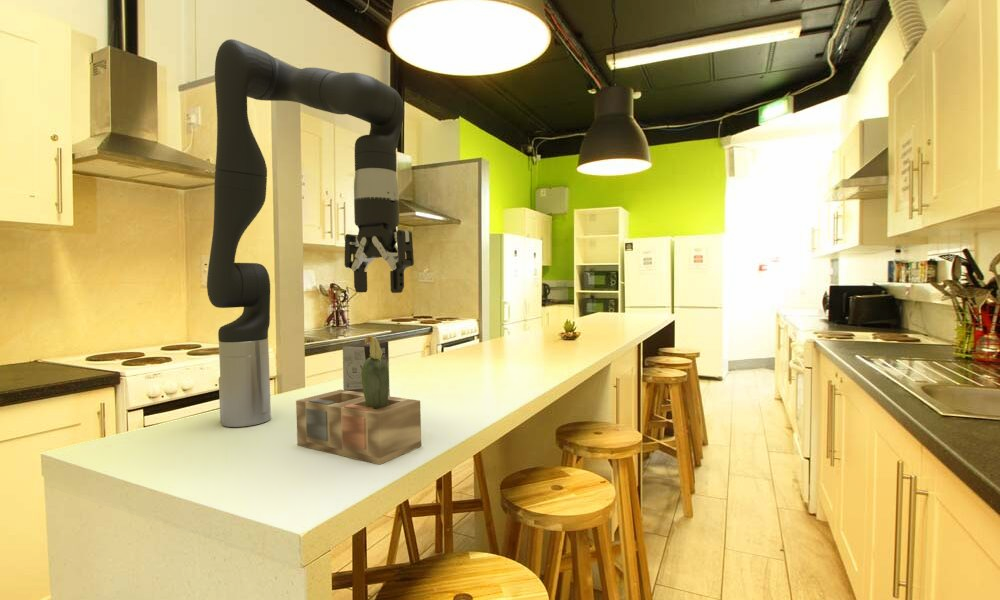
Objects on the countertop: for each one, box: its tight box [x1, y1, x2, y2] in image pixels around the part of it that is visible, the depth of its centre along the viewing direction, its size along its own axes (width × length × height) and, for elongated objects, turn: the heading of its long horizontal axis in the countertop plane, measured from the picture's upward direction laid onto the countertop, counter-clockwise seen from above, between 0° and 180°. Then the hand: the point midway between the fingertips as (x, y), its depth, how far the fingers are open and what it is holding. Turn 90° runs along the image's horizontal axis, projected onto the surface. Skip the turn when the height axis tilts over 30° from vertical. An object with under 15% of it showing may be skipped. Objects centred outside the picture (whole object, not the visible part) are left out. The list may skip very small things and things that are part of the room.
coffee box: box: [342, 340, 391, 396], centre depth 105 cm, size 9×6×16 cm
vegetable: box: [361, 335, 390, 409], centre depth 83 cm, size 4×4×20 cm
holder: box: [295, 389, 422, 465], centre depth 88 cm, size 20×10×8 cm, turn 59°
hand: (378, 292), depth 88 cm, fingers open, 8 cm apart
